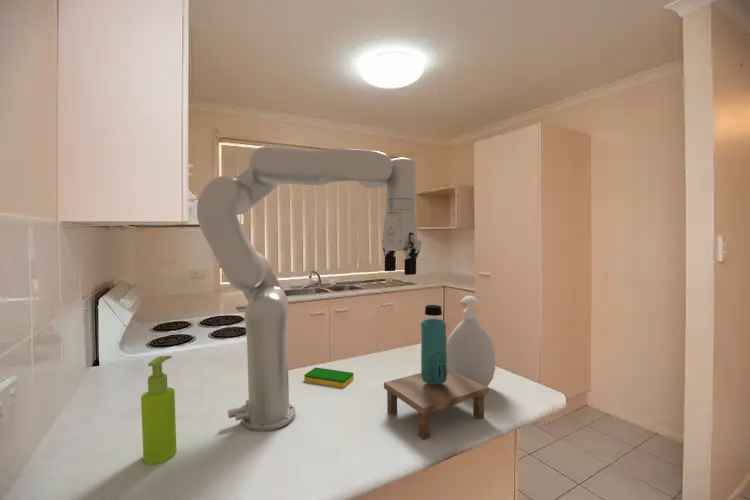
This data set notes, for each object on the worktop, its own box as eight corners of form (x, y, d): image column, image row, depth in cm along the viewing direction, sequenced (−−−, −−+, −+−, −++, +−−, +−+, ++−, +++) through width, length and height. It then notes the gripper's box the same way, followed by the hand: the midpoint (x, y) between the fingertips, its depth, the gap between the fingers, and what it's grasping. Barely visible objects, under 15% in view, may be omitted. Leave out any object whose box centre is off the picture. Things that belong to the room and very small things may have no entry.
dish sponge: (315, 374, 119) (315, 366, 118) (354, 380, 113) (353, 372, 113) (303, 382, 112) (303, 374, 112) (343, 389, 107) (343, 381, 107)
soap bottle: (493, 381, 110) (494, 293, 109) (496, 393, 102) (497, 298, 101) (445, 378, 113) (445, 292, 112) (444, 388, 105) (444, 297, 104)
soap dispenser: (184, 443, 79) (181, 353, 78) (167, 464, 72) (163, 364, 71) (156, 444, 79) (153, 353, 78) (136, 464, 72) (133, 365, 71)
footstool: (423, 441, 79) (423, 408, 78) (384, 411, 92) (383, 382, 92) (487, 417, 89) (487, 387, 88) (443, 393, 103) (443, 367, 102)
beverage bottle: (439, 392, 86) (439, 309, 85) (415, 386, 90) (415, 306, 89) (451, 383, 91) (451, 304, 90) (428, 377, 95) (428, 302, 94)
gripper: (372, 208, 100) (371, 270, 101) (407, 204, 85) (406, 276, 85) (395, 209, 104) (394, 269, 104) (432, 205, 88) (431, 275, 89)
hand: (399, 272), depth 95 cm, fingers open, 9 cm apart
